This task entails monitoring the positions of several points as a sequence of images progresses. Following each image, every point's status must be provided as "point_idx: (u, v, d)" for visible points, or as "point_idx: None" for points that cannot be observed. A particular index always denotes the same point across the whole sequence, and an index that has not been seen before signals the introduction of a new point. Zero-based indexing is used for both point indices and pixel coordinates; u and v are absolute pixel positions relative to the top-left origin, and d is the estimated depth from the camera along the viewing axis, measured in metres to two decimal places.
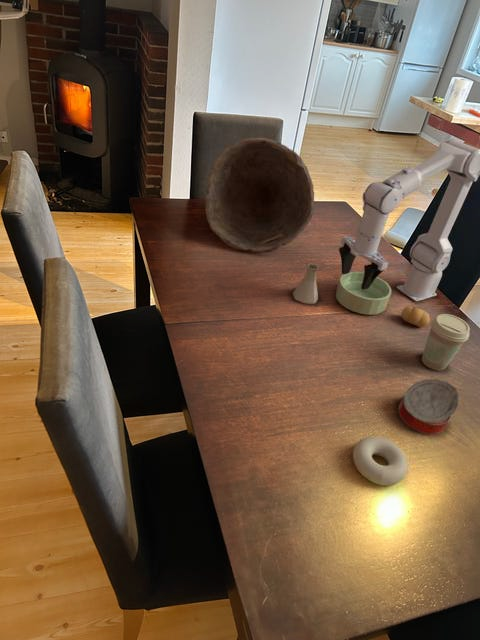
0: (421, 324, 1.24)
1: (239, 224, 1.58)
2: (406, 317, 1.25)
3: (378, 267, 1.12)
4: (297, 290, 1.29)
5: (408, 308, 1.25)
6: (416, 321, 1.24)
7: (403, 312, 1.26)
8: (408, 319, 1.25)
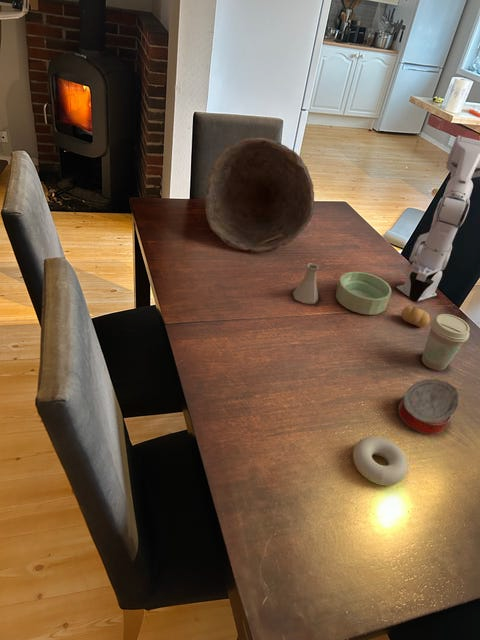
0: (421, 324, 1.24)
1: (239, 224, 1.58)
2: (406, 317, 1.25)
3: None
4: (297, 290, 1.29)
5: (408, 308, 1.25)
6: (416, 321, 1.24)
7: (403, 312, 1.26)
8: (408, 319, 1.25)
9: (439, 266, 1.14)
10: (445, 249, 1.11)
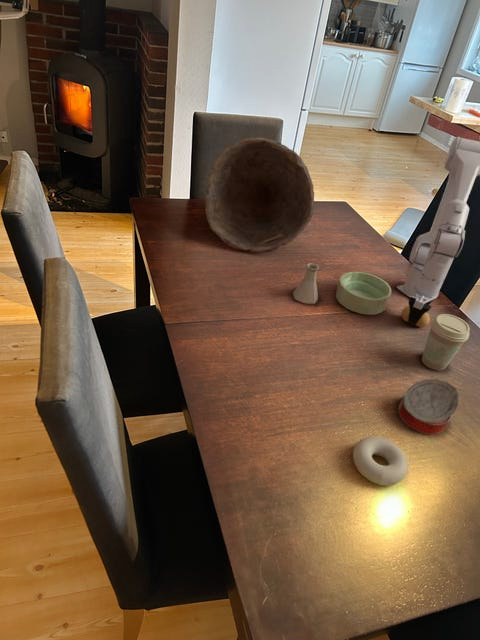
0: (421, 324, 1.24)
1: (239, 224, 1.58)
2: (406, 317, 1.25)
3: None
4: (297, 290, 1.29)
5: (408, 308, 1.25)
6: None
7: (403, 312, 1.26)
8: None
9: (435, 294, 1.19)
10: (442, 278, 1.16)
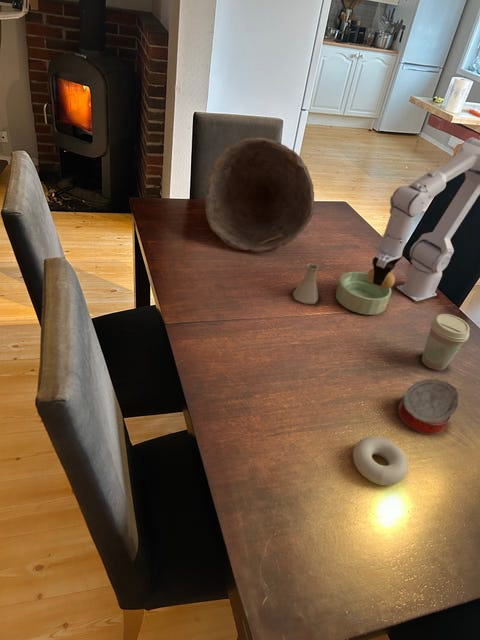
0: (386, 285, 1.24)
1: (239, 224, 1.58)
2: (372, 279, 1.25)
3: None
4: (297, 290, 1.29)
5: (373, 269, 1.25)
6: None
7: (368, 274, 1.26)
8: None
9: (399, 253, 1.19)
10: (397, 236, 1.16)
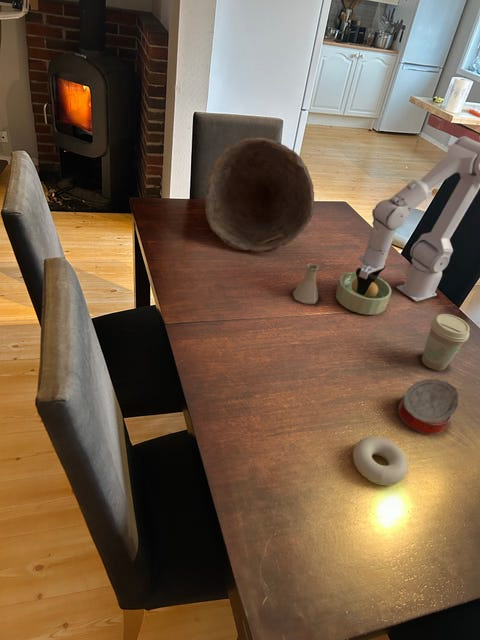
0: (369, 295, 1.28)
1: (239, 224, 1.58)
2: (356, 288, 1.29)
3: None
4: (297, 290, 1.29)
5: None
6: None
7: (352, 283, 1.30)
8: None
9: (381, 264, 1.23)
10: (378, 248, 1.20)
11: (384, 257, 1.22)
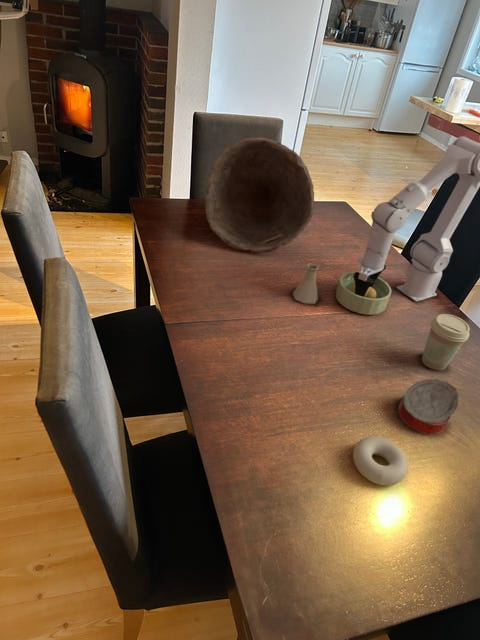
0: None
1: (239, 224, 1.58)
2: None
3: None
4: (297, 290, 1.29)
5: None
6: None
7: (352, 288, 1.31)
8: None
9: (380, 267, 1.23)
10: (377, 250, 1.20)
11: (383, 259, 1.22)
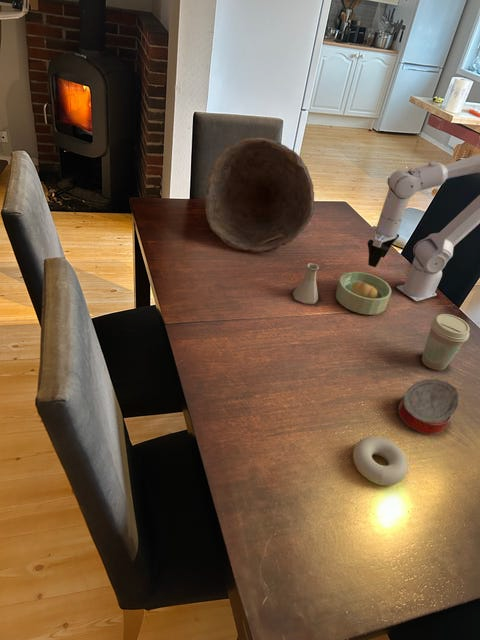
0: (370, 295, 1.29)
1: (239, 224, 1.58)
2: (357, 288, 1.31)
3: None
4: (297, 290, 1.29)
5: (358, 282, 1.32)
6: (366, 292, 1.30)
7: (353, 285, 1.32)
8: (358, 290, 1.31)
9: (394, 234, 1.26)
10: (387, 216, 1.23)
11: (397, 227, 1.25)
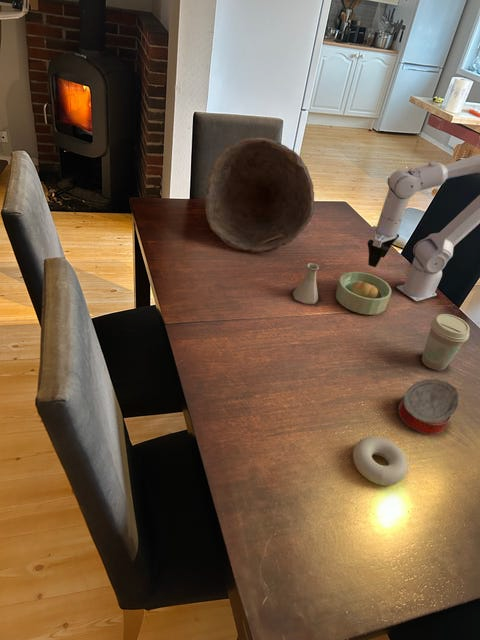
0: (371, 293, 1.30)
1: (239, 224, 1.58)
2: (358, 286, 1.31)
3: None
4: (297, 290, 1.29)
5: (359, 281, 1.33)
6: (367, 290, 1.30)
7: (355, 283, 1.32)
8: (359, 288, 1.31)
9: (394, 234, 1.26)
10: (387, 216, 1.23)
11: (397, 227, 1.25)
